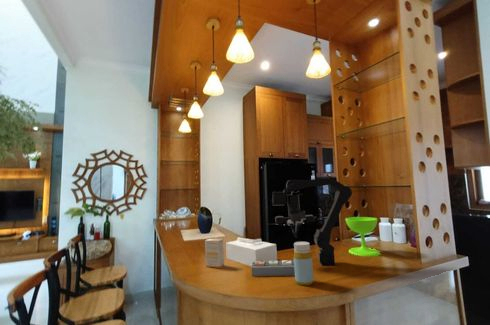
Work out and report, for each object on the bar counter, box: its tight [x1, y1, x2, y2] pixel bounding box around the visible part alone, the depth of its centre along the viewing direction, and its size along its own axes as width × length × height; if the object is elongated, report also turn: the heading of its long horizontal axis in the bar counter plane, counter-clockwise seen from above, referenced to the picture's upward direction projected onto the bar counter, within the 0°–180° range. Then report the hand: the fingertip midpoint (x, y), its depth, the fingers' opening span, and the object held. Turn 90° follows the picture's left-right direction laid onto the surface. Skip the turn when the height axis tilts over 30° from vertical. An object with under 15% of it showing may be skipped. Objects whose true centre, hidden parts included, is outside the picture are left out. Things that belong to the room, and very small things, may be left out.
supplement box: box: [204, 238, 225, 269], centre depth 123 cm, size 8×5×13 cm, turn 65°
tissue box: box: [225, 236, 278, 267], centre depth 131 cm, size 14×25×11 cm, turn 39°
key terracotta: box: [255, 261, 265, 266], centre depth 110 cm, size 4×4×2 cm
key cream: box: [281, 259, 292, 265], centre depth 109 cm, size 4×4×2 cm
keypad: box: [251, 260, 295, 277], centre depth 109 cm, size 19×9×4 cm, turn 85°
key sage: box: [269, 260, 279, 266], centre depth 110 cm, size 4×4×2 cm
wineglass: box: [344, 216, 382, 258], centre depth 134 cm, size 16×16×18 cm
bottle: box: [293, 241, 314, 287], centre depth 97 cm, size 7×7×15 cm
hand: (295, 237), depth 119 cm, fingers closed
